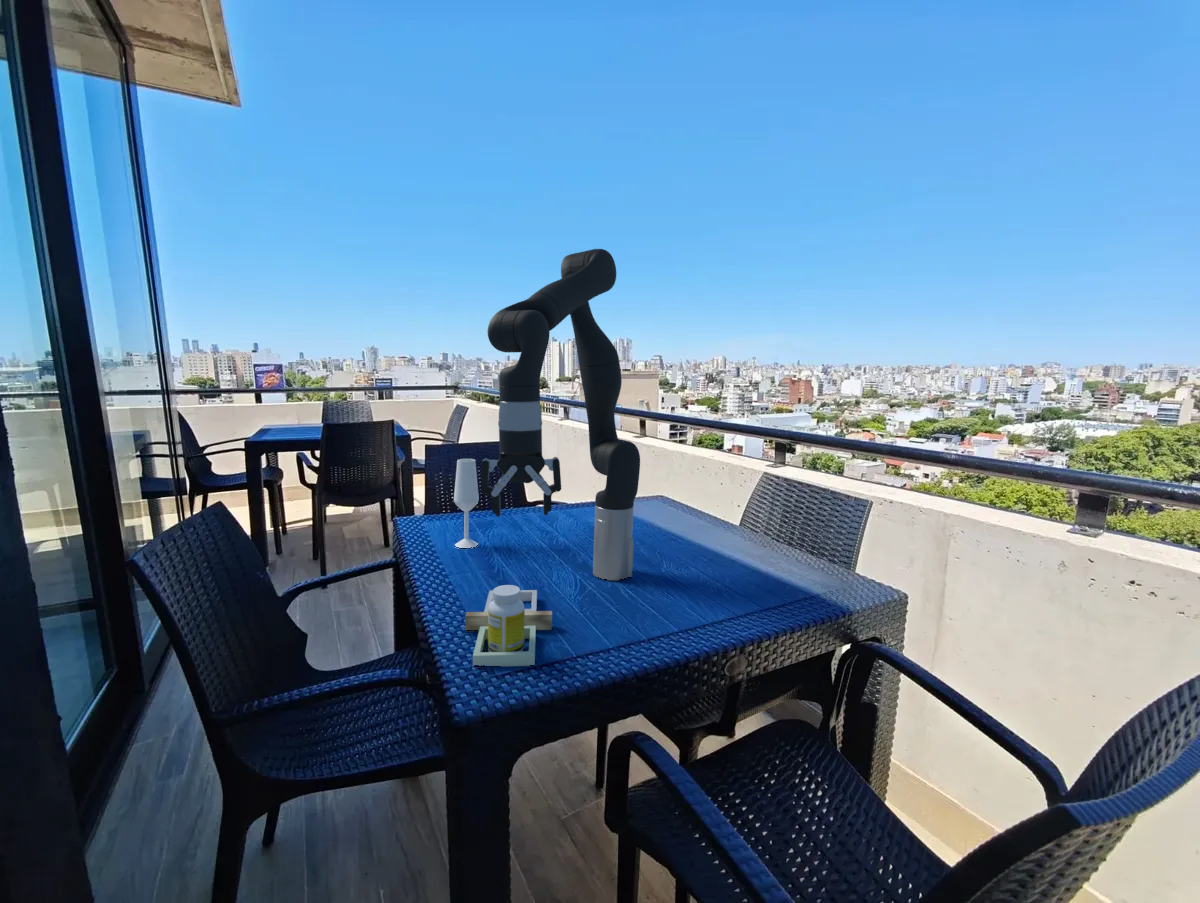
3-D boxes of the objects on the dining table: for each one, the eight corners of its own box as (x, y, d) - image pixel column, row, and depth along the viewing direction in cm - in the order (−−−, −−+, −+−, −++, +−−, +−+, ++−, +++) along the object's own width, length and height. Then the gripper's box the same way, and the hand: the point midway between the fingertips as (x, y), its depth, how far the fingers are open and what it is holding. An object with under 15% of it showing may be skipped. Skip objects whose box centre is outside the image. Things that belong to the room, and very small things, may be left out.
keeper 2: (535, 635, 96) (535, 625, 95) (534, 665, 86) (534, 654, 85) (480, 636, 94) (480, 626, 94) (472, 667, 85) (472, 655, 84)
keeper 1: (536, 598, 111) (537, 590, 111) (536, 620, 101) (536, 610, 101) (489, 599, 110) (489, 590, 110) (484, 621, 100) (484, 611, 100)
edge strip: (551, 625, 100) (551, 610, 99) (551, 629, 98) (552, 614, 98) (466, 627, 98) (466, 612, 97) (465, 631, 96) (465, 616, 96)
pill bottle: (525, 641, 93) (527, 583, 92) (521, 660, 87) (523, 597, 86) (491, 641, 93) (491, 582, 92) (484, 659, 87) (485, 597, 85)
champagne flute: (472, 550, 141) (472, 462, 137) (449, 547, 142) (449, 461, 139) (482, 542, 147) (483, 459, 144) (460, 540, 148) (460, 457, 145)
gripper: (559, 423, 97) (559, 508, 99) (481, 424, 95) (483, 510, 97) (561, 428, 89) (562, 519, 92) (477, 429, 87) (480, 522, 90)
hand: (522, 514), depth 95 cm, fingers open, 8 cm apart
